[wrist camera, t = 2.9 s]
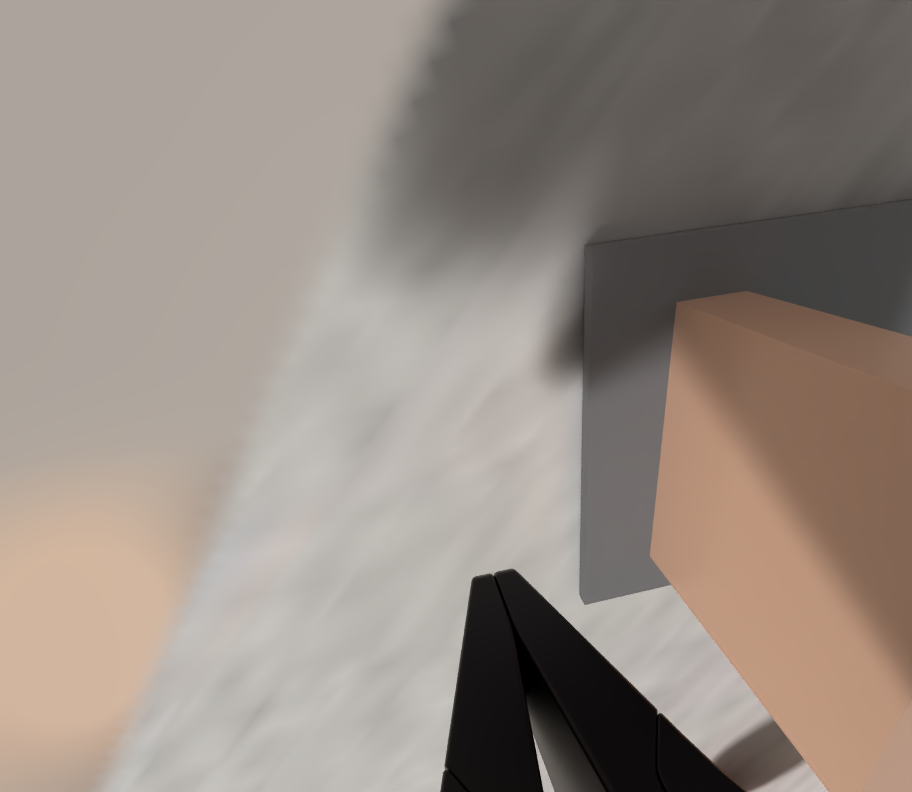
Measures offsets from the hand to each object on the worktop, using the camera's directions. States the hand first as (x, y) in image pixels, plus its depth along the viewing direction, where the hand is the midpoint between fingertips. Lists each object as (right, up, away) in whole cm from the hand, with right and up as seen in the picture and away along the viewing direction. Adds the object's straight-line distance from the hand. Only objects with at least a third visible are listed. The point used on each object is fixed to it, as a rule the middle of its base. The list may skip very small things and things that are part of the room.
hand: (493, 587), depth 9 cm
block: (+6, +2, +4) cm, 7 cm away
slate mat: (+9, +3, +4) cm, 11 cm away
